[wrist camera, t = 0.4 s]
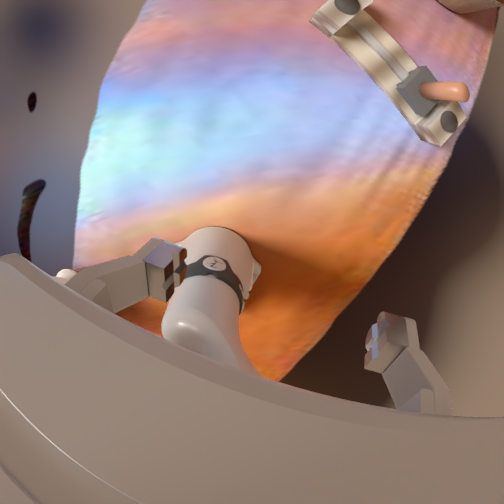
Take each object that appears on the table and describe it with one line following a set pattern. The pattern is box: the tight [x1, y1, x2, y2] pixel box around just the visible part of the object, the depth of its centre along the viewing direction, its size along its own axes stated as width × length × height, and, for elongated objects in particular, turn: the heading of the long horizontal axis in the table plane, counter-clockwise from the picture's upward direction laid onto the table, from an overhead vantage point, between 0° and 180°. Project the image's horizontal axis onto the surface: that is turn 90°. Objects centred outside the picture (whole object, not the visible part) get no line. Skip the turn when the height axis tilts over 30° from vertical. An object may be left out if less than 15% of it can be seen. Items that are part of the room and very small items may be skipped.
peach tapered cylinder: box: [396, 66, 470, 116], centre depth 30 cm, size 6×7×14 cm
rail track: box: [310, 0, 466, 146], centre depth 33 cm, size 30×9×7 cm, turn 50°
